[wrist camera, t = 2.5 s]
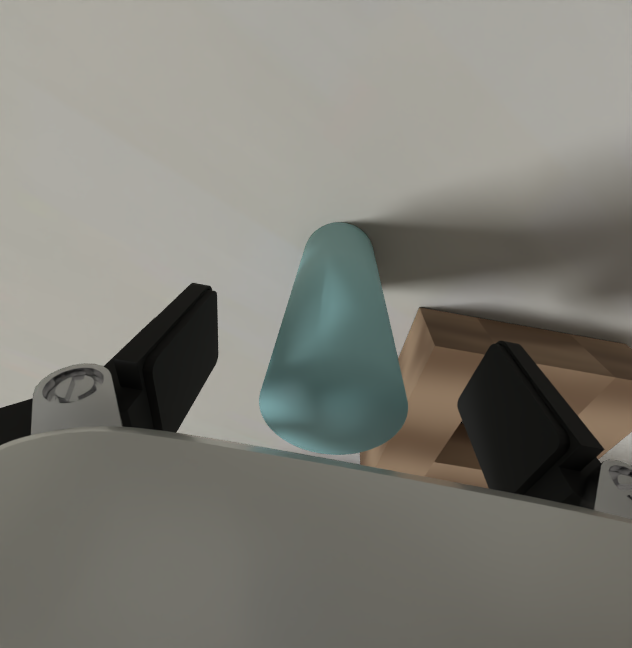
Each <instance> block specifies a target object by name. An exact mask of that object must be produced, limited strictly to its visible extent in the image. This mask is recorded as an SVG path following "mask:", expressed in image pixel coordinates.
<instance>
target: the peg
mask: <svg viewBox="0 0 632 648" xmlns="http://www.w3.org/2000/svg"><path fill="white" fill-rule="evenodd" d="M259 406H260V410H261V413H262V416H263V418H264V420H265V422H266V423H267V425H268V426H269V427H270V428H271V429H272V430H273V431H274V432H275V433H276V434H277V435H278V436H279V437H281V438H282V439H284V440H285V441H287V442H289V443H291V444H293V445H295V446H297V447H299V448H302V449H305V450H308V451H312V452H317V453H322V454H333V455H343V454H354V453H359V452H364V451H367V450H370V449H373V448H375V447H378V446H380V445H382V444H384V443H385V442H387V441H388V440H390V439H391V438H392V437H393V436H395V435H396V434H397V433H398V431H399V430H400V429H401V428H402V426H403V424H404V423H405V420H406V418H407V413H408V401H407V396H406V392H405V387H404V383H403V378H402V374H401V370H400V365H399V361H398V356H397V352H396V348H395V343H394V339H393V334H392V330H391V326H390V321H389V317H388V312H387V308H386V304H385V299H384V295H383V290H382V286H381V282H380V277H379V273H378V268H377V264H376V260H375V255H374V251H373V246H372V244H371V241H370V240H369V238H368V236H367V235H366V234H365V233H364V232H363V231H362V230H361V229H359V228H358V227H356V226H354V225H351V224H348V223H342V222H337V223H330V224H327V225H325V226H322V227H321V228H319V229H318V230H316V231H315V232H314V233H313V234H312V235H311V237H310V238H309V240H308V241H307V244H306V246H305V249H304V253H303V256H302V259H301V262H300V266H299V269H298V272H297V275H296V279H295V282H294V285H293V288H292V291H291V295H290V298H289V301H288V304H287V308H286V311H285V314H284V317H283V321H282V324H281V327H280V330H279V334H278V337H277V340H276V343H275V347H274V350H273V353H272V356H271V360H270V363H269V366H268V369H267V372H266V376H265V379H264V382H263V385H262V389H261V392H260V397H259Z"/></svg>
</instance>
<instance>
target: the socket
mask: <svg viewBox="0 0 632 648" xmlns="http://www.w3.org/2000/svg"><path fill="white" fill-rule="evenodd" d="M498 341H507V342H512V343H517V344H520V345H521V346H522V347H523V348H524V350H525V351H526V352H527V353H528V355H529V356H530V357H531V358H532V360H533V361H534V362H535V363H536V365H537V366H538V367H539V368H540V369H541V371H542V372H543V373H544V374H545V376H546V377H547V378H548V379H549V381H550V382H551V383H552V384H553V386H554V387H555V388H556V389H557V391H558V392H559V393H560V394H561V396H562V397H563V398H564V399H565V401H566V402H567V403H568V404H569V406H570V407H571V408H572V409H573V411H574V412H575V413H576V414H577V415H578V417H579V418H580V419H581V420H582V422H583V423H584V424H585V425H586V427H587V428H588V429H589V430H590V432H591V433H592V434H593V435H594V437H595V438H596V439H597V440H598V442H599V443H600V444H601V445H602V447H603V448H604V449H605V450H604V451H603V452H601V453H600V454H599V455H598V456H597V459H599V458H600V457H602V456H603V455H604V454H605V453H606V452H608V451H609V450H610V449H611V448H612V447H614V446H615V445H616V444H617V443H619V442H620V441H621V440H622V439H623V438H625V437H626V436H627V435H628V434H629V433H631V432H632V349H631V348H630V347H629V346H628V345H626V344H623V343H617V342H611V341H606V340H600V339H595V338H589V337H583V336H578V335H572V334H567V333H561V332H555V331H550V330H544V329H538V328H533V327H527V326H522V325H516V324H510V323H505V322H499V321H494V320H488V319H482V318H477V317H471V316H465V315H460V314H454V313H449V312H443V311H437V310H432V309H426V308H421V307H419V309H418V312H417V314H416V317H415V319H414V322H413V324H412V326H411V329H410V331H409V334H408V336H407V339H406V341H405V343H404V346H403V348H402V351H401V353H400V356H399V358H398V361H399V365H400V370H401V374H402V378H403V383H404V387H405V392H406V396H407V401H408V413H407V418H406V420H405V423H404V424H403V426H402V428H401V429H400V430H399V431H398V433H397V434H396V435H395V436H393V437H392V438H391V439H390V440H388V441H387V442H385V443H384V444H382V445H380V446H378V447H375V448H373V449H370V450H367V451H364V452H360V465H364V466H370V467H375V468H381V469H386V470H392V471H397V472H402V473H408V474H413V475H419V476H424V477H430V478H435V479H440V480H446V481H451V482H456V483H461V484H467V485H472V486H477V487H483V488H488V485H487V483H486V480H485V477H484V475H483V472H482V470H481V467H480V465H479V462H478V459H477V457H476V454H475V452H474V449H473V447H472V444H471V442H470V439H469V436H468V434H467V431H466V429H465V426H464V424H461V421H462V419H461V416H460V413H459V411H458V408H457V402H458V399H459V397H460V395H461V394H462V392H463V390H464V389H465V387H466V385H467V384H468V382H469V380H470V379H471V377H472V375H473V374H474V372H475V370H476V368H477V367H478V365H479V363H480V362H481V360H482V358H483V357H484V355H485V353H486V352H487V350H488V348H489V347H490V346H491V345H492V344H496V343H497V342H498ZM488 489H489V488H488Z"/></svg>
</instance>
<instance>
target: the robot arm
mask: <svg viewBox="0 0 632 648" xmlns="http://www.w3.org/2000/svg"><path fill="white" fill-rule="evenodd" d="M217 359H218V318H217V293H216V291H212V288H211V287H210V286H207V285H202V284H197V283H192V284H190V285H189V286H188V287H187V288H186V289H185V290H184V291H183V292H182V293H181V294H180V295H179V296H178V297H177V298H176V299H175V300H174V301H172V302H171V303H170V304H169V305H168V306H167V307H166V308H165V309H164V310H163V311H162V312H161V313H160V314H159V315H158V316H157V317H156V318H154V319H153V320H152V321H151V322H150V323H149V324H148V325H147V326H146V327H145V328H143V329H142V330H141V331H140V332H139V333H138V334H137V335H136V336H135V337H134V338H133V339H132V340H131V341H130V342H129V343H128V344H127V345H126V346H125V347H124V348H122V349H121V350H120V351H119V352H118V353H117V354H116V355H115V356H114V357H113V358H112V359H111V360H110V361H109V362H108V363H107V364H106V365H105V366H104V367H103V366H101V365H97V364H77V365H72V366H68V367H65V368H62V369H59V370H57V371H55V372H53V373H51V374H49V375H48V376H47V377H45V378H44V379H43V380H41V381H40V383H39V384H38V385H37V386H36V387H35V390H34V393H33V399H29V400H26V401H23V402H19V403H16V404H13V405H9V406H6V407H2V408H0V648H632V466H631V465H629V464H626V463H623V462H621V461H618V460H606V461H603V462H602V463H600V461H599V460H598V459H597V456H598V455H599V454H600V453H601V452H603V451H604V450H605V449H604V448H603V447H602V445H601V444H600V443H599V442H598V440H597V439H596V438H595V437H594V435H593V434H592V433H591V432H590V430H589V429H588V428H587V427H586V425H585V424H584V423H583V422H582V420H581V419H580V418H579V417H578V415H577V414H576V413H575V412H574V411H573V409H572V408H571V407H570V406H569V404H568V403H567V402H566V401H565V399H564V398H563V397H562V396H561V394H560V393H559V392H558V391H557V389H556V388H555V387H554V386H553V384H552V383H551V382H550V381H549V379H548V378H547V377H546V376H545V374H544V373H543V372H542V371H541V369H540V368H539V367H538V366H537V365H536V363H535V362H534V361H533V360H532V358H531V357H530V356H529V355H528V353H527V352H526V351H525V350H524V348H523V347H522V346H521V345H520V344H517V343H512V342H507V341H498V342H497V343H496V344H492V345H491V346H490V347H489V348H488V350H487V352H486V353H485V355H484V357H483V358H482V360H481V362H480V363H479V365H478V367H477V368H476V370H475V372H474V374H473V375H472V377H471V379H470V380H469V382H468V384H467V385H466V387H465V389H464V390H463V392H462V394H461V395H460V397H459V399H458V402H457V408H458V411H459V413H460V416H461V419H462V421H463V424H464V426H465V429H466V431H467V434H468V436H469V439H470V442H471V444H472V447H473V449H474V452H475V454H476V457H477V459H478V462H479V465H480V467H481V470H482V472H483V475H484V477H485V480H486V483H487V485H488V488H489V489H488V488H483V487H477V486H472V485H467V484H461V483H456V482H451V481H446V480H440V479H435V478H430V477H424V476H419V475H413V474H408V473H402V472H397V471H392V470H386V469H381V468H375V467H370V466H364V465H359V464H353V463H348V462H342V461H337V460H331V459H326V458H320V457H315V456H309V455H304V454H298V453H292V452H287V451H281V450H275V449H270V448H264V447H259V446H253V445H247V444H242V443H236V442H231V441H225V440H218V439H212V438H206V437H200V436H194V435H187V434H181V433H176V432H177V430H178V429H179V427H180V425H181V423H182V422H183V420H184V418H185V417H186V415H187V413H188V411H189V410H190V408H191V406H192V404H193V403H194V401H195V399H196V397H197V396H198V394H199V392H200V391H201V389H202V387H203V385H204V384H205V382H206V380H207V378H208V377H209V375H210V373H211V371H212V370H213V368H214V366H215V365H216V362H217Z"/></svg>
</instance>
